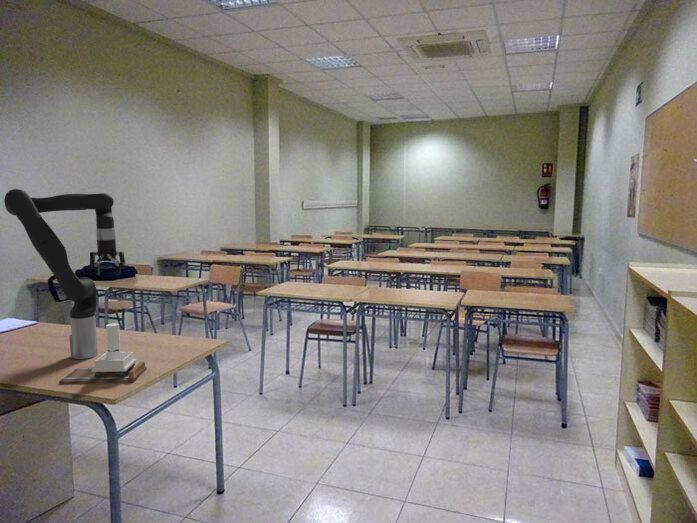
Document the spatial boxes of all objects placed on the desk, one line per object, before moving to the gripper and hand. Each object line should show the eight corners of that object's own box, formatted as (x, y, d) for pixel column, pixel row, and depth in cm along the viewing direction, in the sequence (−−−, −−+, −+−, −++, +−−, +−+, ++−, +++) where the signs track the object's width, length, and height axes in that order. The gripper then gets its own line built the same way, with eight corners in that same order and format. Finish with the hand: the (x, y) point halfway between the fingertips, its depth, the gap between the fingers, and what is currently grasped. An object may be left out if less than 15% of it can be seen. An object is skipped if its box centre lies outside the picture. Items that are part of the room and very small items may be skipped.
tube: (111, 362, 188) (108, 323, 186) (122, 361, 188) (120, 323, 186) (106, 365, 184) (104, 326, 182) (118, 365, 184) (116, 326, 182)
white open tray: (91, 378, 180) (90, 361, 179) (105, 367, 192) (104, 351, 191) (125, 377, 181) (125, 361, 180) (137, 366, 193) (136, 351, 192)
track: (59, 384, 178) (58, 374, 178) (77, 370, 192) (77, 362, 192) (133, 382, 180) (133, 373, 180) (146, 369, 194) (146, 360, 194)
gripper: (85, 239, 216) (88, 276, 218) (119, 239, 217) (121, 275, 219) (93, 238, 224) (95, 273, 226) (125, 237, 225) (127, 273, 227)
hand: (108, 274), depth 223 cm, fingers open, 8 cm apart
